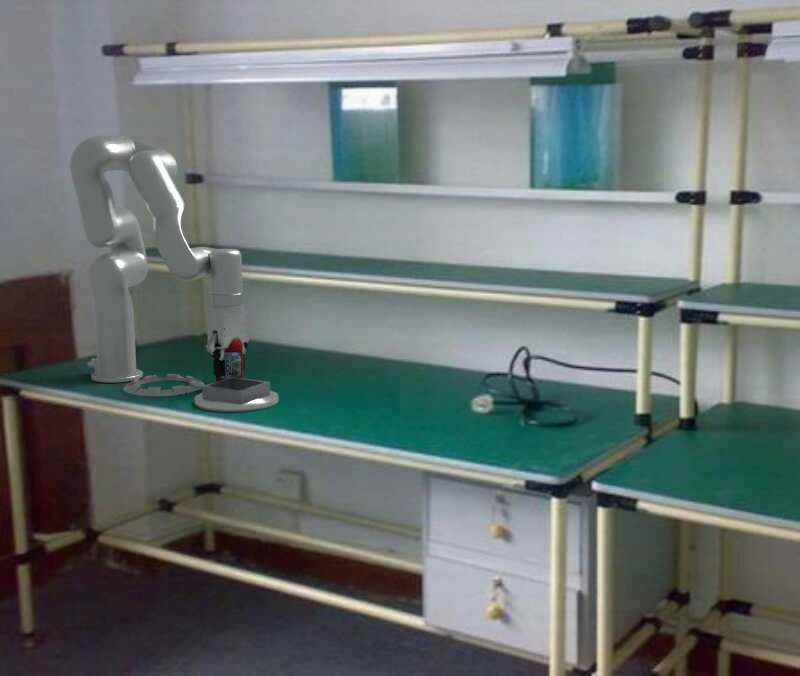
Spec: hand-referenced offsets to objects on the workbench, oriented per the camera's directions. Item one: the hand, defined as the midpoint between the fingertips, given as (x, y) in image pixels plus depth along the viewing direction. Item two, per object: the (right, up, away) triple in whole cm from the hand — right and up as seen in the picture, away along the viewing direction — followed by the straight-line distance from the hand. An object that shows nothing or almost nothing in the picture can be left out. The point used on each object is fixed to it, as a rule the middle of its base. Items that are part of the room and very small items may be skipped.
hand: (229, 372), depth 277 cm
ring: (-16, -4, -1) cm, 16 cm away
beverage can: (0, -3, +1) cm, 4 cm away
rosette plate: (+4, -6, -16) cm, 18 cm away
